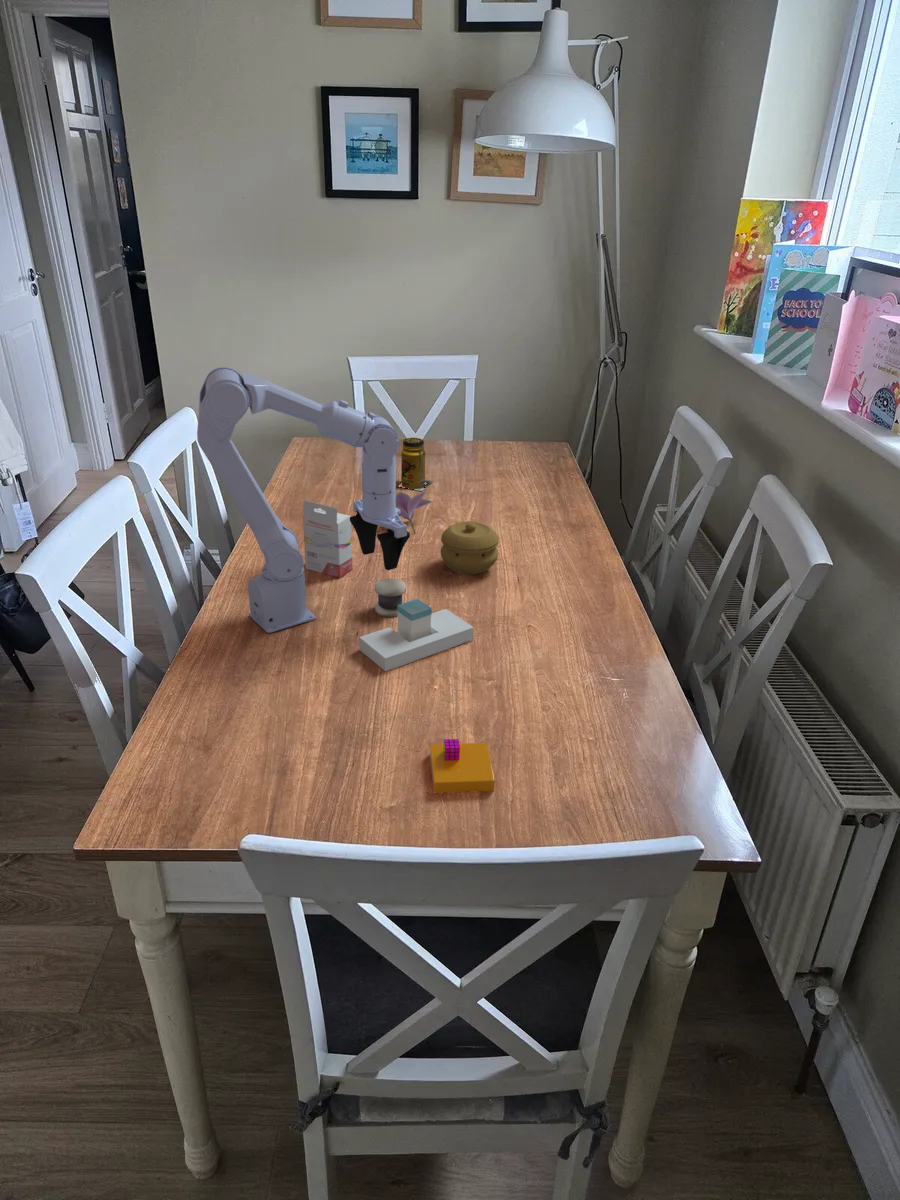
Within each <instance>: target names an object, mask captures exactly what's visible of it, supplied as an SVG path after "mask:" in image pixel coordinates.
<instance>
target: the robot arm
mask: <svg viewBox="0 0 900 1200" xmlns="http://www.w3.org/2000/svg"><path fill="white" fill-rule="evenodd" d="M198 399H199V401H198V403H199V405H198V415H197V429H196V430H197V431H196V436H197V437H196V438H197V442H198V445H199V447H200V449H201V450H202V452H203V453H204V456H205V457H206V458H207V460H208V462H209V463H210V465H211V467H212V468H213V470H214V472H215V473H216V475H217V477H218V478H219V479H220V481H221V483H222V484H223V485H222V486H224V488H225V489H226V491H227V493H228V494H229V496H230V497H231V499H232V501H233V502H234V504H235V506H236V508H237V509H238V511H239V512H240V514H241V515H242V517H243V519H244V520H245V522H246V524H247V525H248V527H249V528H250V530H251V531H252V533H253V535H254V537H255V540H256V542H257V544H258V547H259V549H260V551H261V553H262V554H263V556H264V561H265V562H264V565H263V567H262V568H261V573H260V574H258V575H257V576H255V577H253V578H251V579H249V580H248V587H247V589H248V602H249V613H248V616H249V617H250V618H251V619H252V620H253V621H254V622H255V623H257V625H258V626H259V627H260V628H262V629H263V630H264V631H265V632H266V633H268V634H271V633H274V632H277V631H281V630H284V629H287V628H291V627H294V626H298V625H301V624H303V623H306V622H311V621H313V620H316V619H317V616H316V615H315V614H314V613H312V612H311V611H310V610H309V609H308V608H307V601H306V600H307V599H306V595H307V594H306V581H305V579H306V578H305V577H306V576H305V567H304V558H303V555H302V553H301V552H300V551H301V550H300V547H299V544H298V543H299V541H298V538H297V535H296V534H295V532H294V531H292V530H291V529H290V528H287V526H286V525H284V524H283V522H282V521H281V519H280V518H279V517H278V516H277V515H276V514H275V511H274V510H273V508H272V506H271V505H270V503H269V501H268V500H267V498H266V496H265V495H264V493H263V491H262V489H261V488H260V486H259V484H258V482H257V481H256V480H255V477H254V476H253V474H252V472H251V471H250V469H249V468H248V466H247V464H246V462H245V460H244V459H243V457H242V456H241V455H240V452H239V451H238V449H237V447H236V446H235V444H234V442H233V441H232V439H231V437H232V435H233V433H234V431H235V430H234V429H235V427H236V425H237V424H238V422H239V421H241V420H242V419H243V417H244V415H246V413H247V411H248V409H250V414H251V415H255V414H259V413H261V412H263V411H266V410H269V409H270V410H273V411H276V412H279V413H282V414H284V415H288V416H291V417H293V418H297V419H300V420H304V421H306V422H310V423H312V424H315V426H316V427H317V430H318V431H319V434H321V435H322V436H325V437H328V438H330V439H332V440H335V441H339V442H341V443H344V444H346V445H349V446H350V447H351V446H352V447H354V448H361V450H362V463H361V483H362V484H361V488H362V489H361V490H362V493H361V495H362V498H361V499H357V500H353V501H352V509H353V510H352V511H353V512H354V513H356V514H355V515H352V516H351V517H350V522H351V526H352V527H353V528H354V531H355V532H356V536H357V539H358V542H359V546H360V550H361V552H362V555H364V556H365V555H371V554H372V553H373V554H374V553H375V549H376V539H377V540H378V541H379V544H380V546H381V550H382V551H381V552H382V557H383V565H384V569H385V570H386V571H390V570H391V571H392V570H395V569H397V568H398V565H399V561H400V557H401V555H402V551H403V549H404V547H405V545H406V543H407V541H408V540H409V539H410V537H411V533H410V531H408V525H407V524H405V523H404V521H403V520H402V518H401V517H399V516H398V514H400V509H398V508H396V494H397V493H396V489H397V487H396V486H397V483H396V481H397V480H396V479H397V478H396V475H397V474H396V472H397V471H396V470H397V466H396V453H397V452H398V450H399V448H400V445H401V440H399V436H398V433H397V431H396V429H395V428H393V426H392V425H391V424H390V422H389V420H386V419H385V418H383V417H382V416H381V415H380V414H375V413H373V412H371V411H368V412H367V413H365V412H363V411H361V410H357V409H355V408H353V407H350V406H349V403H348V401H346V400H343V399H339V402H338V401H335V400H329V401H328V402H327V401H326V402H324V403H319V402H317V401H314V400H312V399H310V398H308V397H305V396H303V395H301V394H299V393H297V392H294V391H291V390H289V389H286V388H284V387H282V386H280V385H278V384H275V383H273V382H271V381H269V380H267V379H263V377H262V378H261V377H259V376H256V375H254V374H251V373H248V372H245V371H241V373H240V372H239V371H237V370H236V369H234V368H231V367H228V366H220V367H217V368H214V369H212V370H211V371H210V372H208V374H207V376H206V377H205V380H204V381H203V384H202V385H201V388H200V391H199V398H198ZM378 526H380V527H383V528H384V529H386V531H385V532H382V533H378V534H377V531H378Z"/></svg>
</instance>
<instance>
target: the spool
mask: <svg viewBox="0 0 900 1200" xmlns="http://www.w3.org/2000/svg"><path fill="white" fill-rule="evenodd" d="M406 587H407V585H406V583H405V582H404V581H403V580H402V579H398V578H382V579H380V580H378V581H376V582H375V583H374V591H375V593H376V594H377V597H378V598H377V602H376V603H375V604H374V612H375V613H376V614H377V615H379V616H381V617H384V618H385V617H386V618H394V617H395V618H396V617H398V605H399V604H402V603H405V602H404V601H403V594H404V593H405V592H406Z"/></svg>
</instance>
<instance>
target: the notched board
mask: <svg viewBox="0 0 900 1200" xmlns="http://www.w3.org/2000/svg"><path fill="white" fill-rule="evenodd" d="M474 628H475V627H474V626H472V625H471V624H469V623H468V622H466V621H465V620H464V619H462V618H460V617H459V616H457V614H455V613H453V612H452V611H450V610H449V609H447V608H445V609H441V610H437V611H435V612H432V614H431V635H429V636H426V637H423V638H420V639H417V640H415V641H412V642H408V641H407V640H406V639H404V638H403V637H402V636H400V635H399V634H398V631H397V632H396V631H395V630H394V629H393V628H392V627H390V626H389V627H386V628H383V629H379V630H377V631H374V632H371V633H368V634H365V635H362V636H359V638H358V639H359V644H358V645H359V651H360V652H362V653H363V655H365V656H366V657H368V658H369V659H370V660H371V661H372V662H374V663H375V665H377V666H378V667H379V668H380V669H382V670H383V671H384V672H388V671H390V670H393V669H396V668H398V667H402V666H404V665H408V664H410V663H413V662H416V661H418V660H421V659H423V658H424V659H425V658H427V657H429V656H433V655H434V654H438V653H441V652H444V651H446V650H449V649H451V648H454V647H457V646H460V645H462V644H466V643H468V642H471V641H474Z"/></svg>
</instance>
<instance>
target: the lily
mask: <svg viewBox="0 0 900 1200" xmlns="http://www.w3.org/2000/svg"><path fill="white" fill-rule="evenodd" d="M426 493H427V492H426V491H424V492H423V491H422V492H421V493H419V494H416V495H414V496H413V497H411V496H410V495H408V494H407V493H405V492H402V491H398V492H397V493H396V508H398V509H400V514H398V516H399V517H400V518H403V519H405V520H406V521H409V522H410V525H411V528H412V531H413V534H414V535H416V534H417V533H416V531H415V528H414V524H413V518H414V516H415V510H417V509H419V508H422V507H424V506H426V505H430V504H431V503H432V500H429V499H423V497H424V496H425V495H426Z"/></svg>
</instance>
